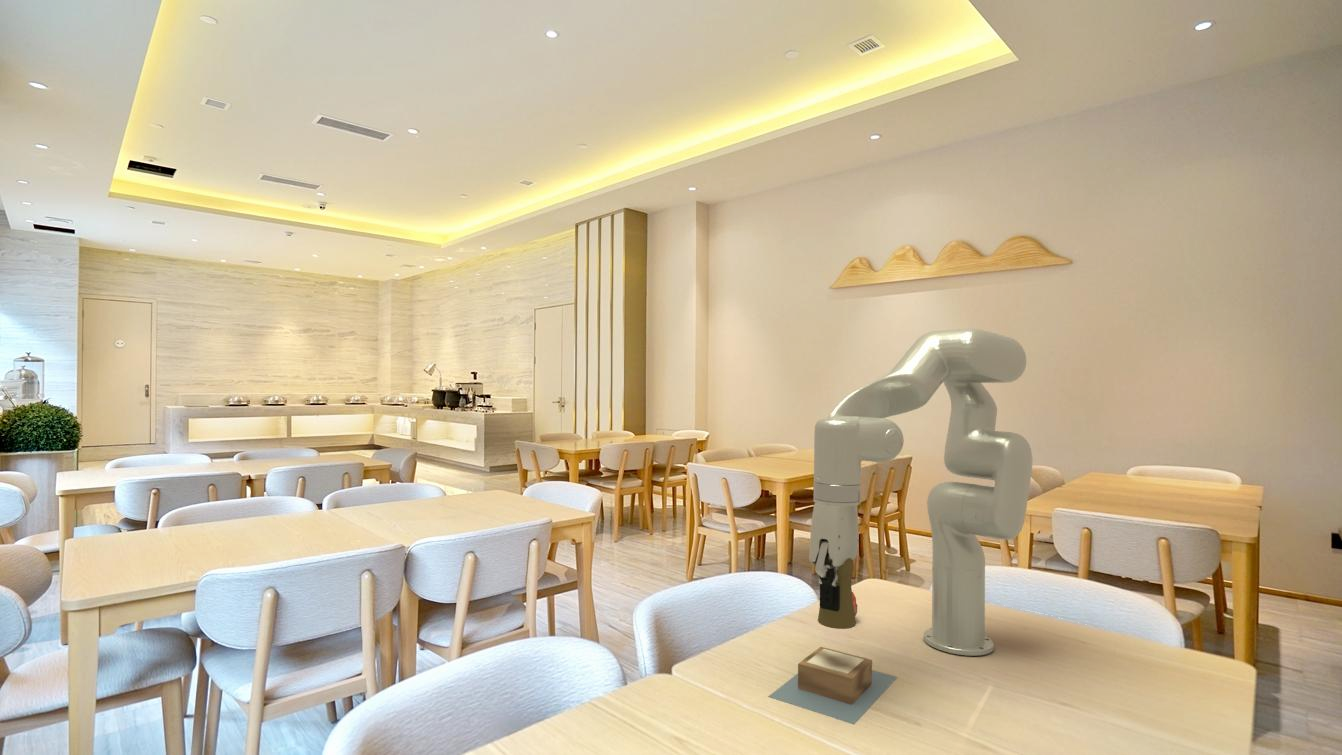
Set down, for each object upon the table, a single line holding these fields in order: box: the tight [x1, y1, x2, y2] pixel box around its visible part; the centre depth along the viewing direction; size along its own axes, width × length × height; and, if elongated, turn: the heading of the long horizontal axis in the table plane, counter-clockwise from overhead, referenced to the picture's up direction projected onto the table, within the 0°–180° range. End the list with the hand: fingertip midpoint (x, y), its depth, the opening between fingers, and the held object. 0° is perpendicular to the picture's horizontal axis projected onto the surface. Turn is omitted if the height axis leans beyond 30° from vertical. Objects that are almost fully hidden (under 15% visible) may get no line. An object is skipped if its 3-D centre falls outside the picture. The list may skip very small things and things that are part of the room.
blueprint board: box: [767, 669, 898, 725], centre depth 107 cm, size 20×14×1 cm
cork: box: [817, 558, 857, 630], centre depth 108 cm, size 6×6×11 cm
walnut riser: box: [797, 646, 873, 705], centre depth 107 cm, size 9×9×4 cm
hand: (835, 604), depth 108 cm, fingers closed on cork, 4 cm apart
